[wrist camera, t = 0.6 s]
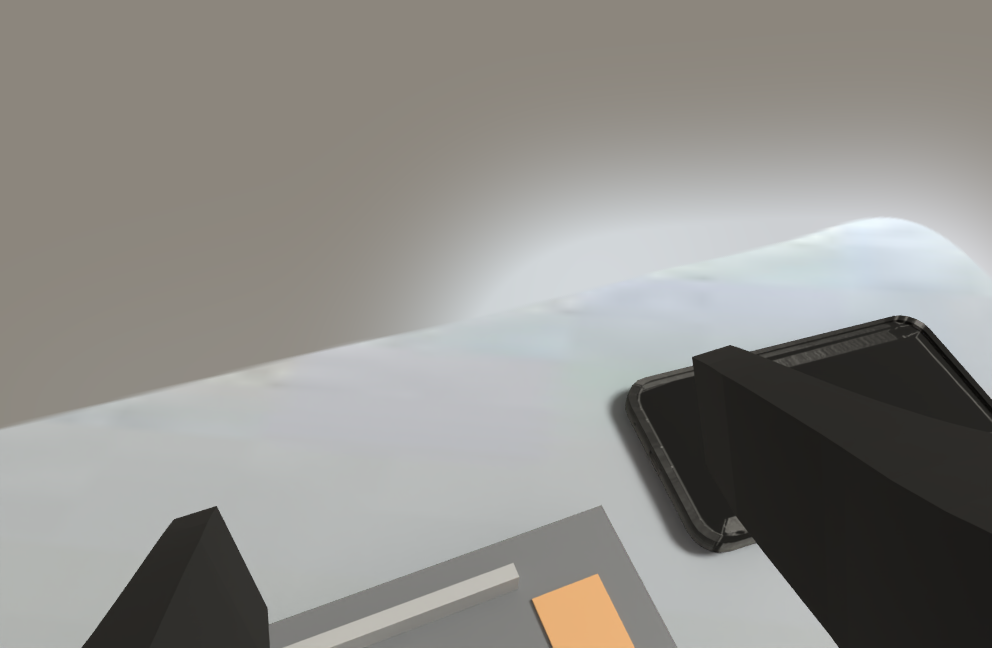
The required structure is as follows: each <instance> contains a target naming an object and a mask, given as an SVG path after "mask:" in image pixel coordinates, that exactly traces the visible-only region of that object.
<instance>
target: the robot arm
mask: <svg viewBox="0 0 992 648" xmlns="http://www.w3.org/2000/svg"><path fill="white" fill-rule="evenodd" d="M692 360H693V368H694V376H695V384H696V391H697V399H698V407H699V415H700V423H701V431H702V439H703V446H704V454H705V462H706V466H707V468H708V470H709V471H710V473H711V475H712V477H713V478H714V480H715V482H716V483H717V485H718V487H719V489H720V490H721V492H722V494H723V496H724V497H725V499H726V500H727V502H728V504H729V505H730V507H731V509H732V510H733V512H734V513H735V515H736V517H737V518H738V520H739V521H740V522H741V524H742V525H743V526H744V528H745V529H746V530H747V531H748V533H749V534H750V535H751V537H752V538H753V539H754V540H755V542H756V543H757V544H758V545H759V547H760V548H761V549H762V551H763V552H764V553H765V554H766V556H767V557H768V558H769V559H770V561H771V562H772V563H773V564H774V566H775V567H776V568H777V569H778V571H779V572H780V573H781V574H782V576H783V577H784V578H785V579H786V581H787V582H788V583H789V584H790V586H791V587H792V588H793V590H794V591H795V592H796V593H797V595H798V596H799V597H800V598H801V600H802V601H803V602H804V603H805V605H806V606H807V607H808V608H809V610H810V611H811V612H812V613H813V615H814V616H815V617H816V618H817V620H818V621H819V622H820V623H821V625H822V626H823V627H824V628H825V630H826V631H827V632H828V633H829V635H830V636H831V637H832V639H833V640H834V642H835V643H836V644H837V646H838V647H839V648H992V433H989V432H985V431H981V430H977V429H973V428H969V427H965V426H960V425H956V424H952V423H949V422H945V421H942V420H938V419H934V418H931V417H927V416H924V415H921V414H918V413H915V412H912V411H908V410H905V409H902V408H899V407H896V406H893V405H890V404H886V403H883V402H880V401H877V400H874V399H872V398H869V397H866V396H863V395H860V394H857V393H855V392H852V391H849V390H846V389H844V388H841V387H838V386H836V385H833V384H830V383H828V382H825V381H822V380H820V379H817V378H815V377H812V376H810V375H807V374H804V373H802V372H799V371H797V370H794V369H792V368H789V367H787V366H784V365H782V364H779V363H777V362H774V361H772V360H769V359H767V358H764V357H762V356H759V355H757V354H754V353H751V352H749V351H746V350H743V349H740V348H737V347H734V346H731V345H729V346H726V347H723V348H719V349H716V350H713V351H710V352H707V353H704V354H700V355H697V356H694V357H692ZM82 648H270V639H269V624H268V609H267V606H266V604H265V602H264V600H263V598H262V596H261V594H260V592H259V590H258V588H257V586H256V584H255V582H254V580H253V578H252V576H251V574H250V572H249V570H248V568H247V566H246V564H245V562H244V560H243V558H242V556H241V554H240V552H239V550H238V548H237V546H236V544H235V542H234V540H233V538H232V536H231V534H230V532H229V530H228V528H227V526H226V524H225V522H224V520H223V518H222V516H221V514H220V512H219V510H218V508H217V506H215V507H212V508H209V509H206V510H202V511H199V512H196V513H193V514H190V515H186V516H183V517H180V518H177V519H174V520H173V521H172V523H171V524H170V525H169V527H168V528H167V529H166V531H165V532H164V533H163V535H162V536H161V537H160V539H159V540H158V542H157V543H156V544H155V546H154V547H153V549H152V550H151V551H150V553H149V554H148V556H147V557H146V559H145V560H144V562H143V563H142V564H141V566H140V567H139V569H138V570H137V572H136V573H135V575H134V576H133V577H132V579H131V580H130V582H129V583H128V585H127V586H126V587H125V589H124V590H123V592H122V593H121V594H120V596H119V597H118V599H117V600H116V601H115V603H114V604H113V606H112V607H111V608H110V610H109V611H108V613H107V614H106V615H105V617H104V618H103V620H102V621H101V622H100V624H99V625H98V627H97V628H96V629H95V631H94V632H93V634H92V635H91V636H90V638H89V639H88V640H87V641H86V643H85V644H84V645H83V647H82Z"/></svg>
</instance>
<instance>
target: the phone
mask: <svg viewBox="0 0 992 648" xmlns="http://www.w3.org/2000/svg"><path fill="white" fill-rule="evenodd" d="M751 353H754V354H757V355H759V356H762V357H764V358H767V359H769V360H772V361H774V362H777V363H779V364H782V365H784V366H787V367H789V368H792V369H794V370H797V371H799V372H802V373H804V374H807V375H810V376H812V377H815V378H817V379H820V380H822V381H825V382H828V383H830V384H833V385H836V386H838V387H841V388H844V389H846V390H849V391H852V392H855V393H857V394H860V395H863V396H866V397H869V398H872V399H874V400H877V401H880V402H883V403H886V404H890V405H893V406H896V407H899V408H902V409H905V410H908V411H912V412H915V413H918V414H921V415H924V416H927V417H931V418H934V419H938V420H942V421H945V422H949V423H952V424H956V425H960V426H965V427H969V428H973V429H977V430H981V431H985V432H989V433H992V399H991V398H990V397H989V396H988V395H987V394H986V392H985V391H984V390H983V389H982V388H981V387H980V386H979V384H978V383H977V382H976V381H975V380H974V379H973V378H972V376H971V375H970V374H969V373H968V372H967V371H966V370H965V368H964V367H963V366H962V365H961V364H960V363H959V362H958V360H957V359H956V358H955V357H954V356H953V355H952V354H951V352H950V351H949V350H948V349H947V348H946V347H945V346H944V344H943V343H942V342H941V341H940V340H939V339H938V338H937V337H936V335H935V334H934V333H933V332H932V331H931V330H930V329H929V328H928V327H927V326H926V325H925V324H924V323H922V322H920V321H918V320H917V319H914V318H911V317H908V316H901V315H900V316H892V317H888V318H884V319H880V320H876V321H872V322H868V323H864V324H860V325H856V326H852V327H847V328H843V329H839V330H835V331H831V332H827V333H823V334H819V335H815V336H811V337H807V338H803V339H799V340H795V341H791V342H787V343H783V344H779V345H775V346H771V347H767V348H763V349H759V350H755V351H751ZM626 412H627V415H628V417H629V419H630V421H631V423H632V425H633V427H634V429H635V431H636V433H637V435H638V437H639V439H640V441H641V443H642V445H643V446H644V448H645V450H646V452H647V454H648V456H649V458H650V460H651V462H652V464H653V466H654V468H655V470H656V472H657V474H658V476H659V477H660V479H661V481H662V483H663V485H664V487H665V489H666V491H667V493H668V495H669V497H670V499H671V501H672V503H673V505H674V507H675V508H676V510H677V512H678V514H679V516H680V518H681V520H682V522H683V524H684V526H685V528H686V530H687V532H688V533H689V535H690V536H691V537H692V539H693V540H694V541H695V542H696V543H698V544H699V545H700V546H701V547H703V548H705V549H708V550H710V551H714V552H720V553H721V552H728V551H732V550H736V549H739V548H742V547H745V546H748V545H751V544H755V543H756V542H755V540H754V539H753V538H752V537H751V535H750V534H749V533H748V531H747V530H746V529H745V528H744V526H743V525H742V524H741V522H740V521H739V520H738V518H737V517H736V515H735V513H734V512H733V510H732V509H731V507H730V505H729V504H728V502H727V500H726V499H725V497H724V496H723V494H722V492H721V490H720V489H719V487H718V485H717V483H716V482H715V480H714V478H713V477H712V475H711V473H710V471H709V470H708V468H707V466H706V462H705V454H704V446H703V439H702V431H701V423H700V415H699V407H698V399H697V391H696V384H695V376H694V368H693V366H690V367H686V368H682V369H678V370H674V371H670V372H666V373H662V374H658V375H654V376H650V377H646V378H643V379H640V380H638V381H637V382H636V383H634V384H633V385H632V387H631V389H630V391H629V394H628V397H627V401H626ZM634 423H635V424H636V426H635V424H634ZM653 455H654V456H653ZM654 457H655V458H654ZM655 459H656V460H655ZM656 461H657V462H656ZM657 463H658V464H657ZM658 465H659V466H658ZM659 467H660V468H659ZM660 469H661V470H660Z"/></svg>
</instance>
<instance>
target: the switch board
mask: <svg viewBox="0 0 992 648" xmlns="http://www.w3.org/2000/svg"><path fill="white" fill-rule="evenodd" d="M269 639H270V648H677V646H676V644H675V642H674V640H673V639H672V637H671V635H670V633H669V631H668V629H667V627H666V625H665V624H664V622H663V620H662V618H661V616H660V614H659V612H658V610H657V609H656V607H655V605H654V603H653V601H652V599H651V597H650V595H649V594H648V592H647V590H646V588H645V586H644V584H643V582H642V580H641V579H640V577H639V575H638V573H637V571H636V569H635V567H634V565H633V564H632V562H631V560H630V558H629V556H628V554H627V552H626V550H625V548H624V547H623V545H622V543H621V541H620V539H619V537H618V535H617V533H616V532H615V530H614V528H613V526H612V524H611V522H610V520H609V518H608V517H607V515H606V513H605V511H604V509H603V507H602V505H601V506H598V507H595V508H593V509H590V510H587V511H584V512H581V513H579V514H576V515H573V516H570V517H567V518H565V519H562V520H559V521H556V522H554V523H551V524H548V525H545V526H542V527H540V528H537V529H534V530H531V531H528V532H526V533H523V534H520V535H517V536H514V537H512V538H509V539H506V540H503V541H501V542H498V543H495V544H492V545H489V546H487V547H484V548H481V549H478V550H475V551H473V552H470V553H467V554H464V555H461V556H459V557H456V558H453V559H450V560H448V561H445V562H442V563H439V564H436V565H434V566H431V567H428V568H425V569H422V570H420V571H417V572H414V573H411V574H408V575H406V576H403V577H400V578H397V579H395V580H392V581H389V582H386V583H383V584H381V585H378V586H375V587H372V588H369V589H367V590H364V591H361V592H358V593H356V594H353V595H350V596H347V597H344V598H342V599H339V600H336V601H333V602H330V603H328V604H325V605H322V606H319V607H316V608H314V609H311V610H308V611H305V612H303V613H300V614H297V615H294V616H291V617H289V618H286V619H283V620H280V621H277V622H275V623H272V624H269Z"/></svg>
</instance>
